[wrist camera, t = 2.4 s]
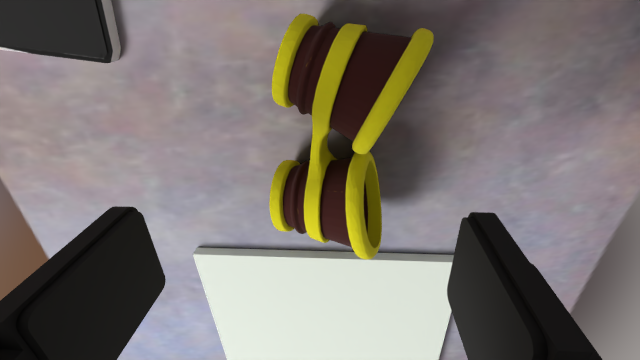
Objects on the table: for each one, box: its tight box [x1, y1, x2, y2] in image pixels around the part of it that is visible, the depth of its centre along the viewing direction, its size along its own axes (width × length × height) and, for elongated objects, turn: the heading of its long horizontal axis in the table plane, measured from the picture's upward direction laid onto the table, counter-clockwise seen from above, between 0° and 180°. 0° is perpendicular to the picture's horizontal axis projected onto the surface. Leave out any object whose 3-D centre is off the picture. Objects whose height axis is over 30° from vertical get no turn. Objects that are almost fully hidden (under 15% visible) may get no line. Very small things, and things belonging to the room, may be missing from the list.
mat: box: [193, 248, 454, 360], centre depth 23 cm, size 16×16×1 cm
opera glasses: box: [270, 14, 434, 260], centre depth 14 cm, size 10×5×5 cm, turn 174°
